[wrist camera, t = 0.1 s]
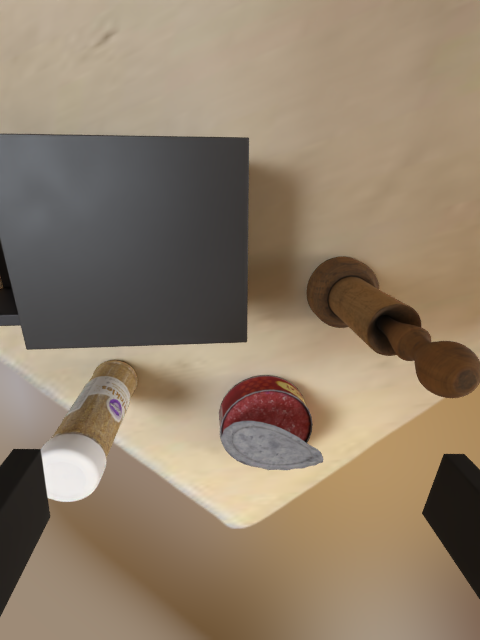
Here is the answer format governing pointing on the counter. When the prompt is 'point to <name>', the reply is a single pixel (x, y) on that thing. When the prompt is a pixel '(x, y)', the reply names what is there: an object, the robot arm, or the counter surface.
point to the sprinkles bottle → (88, 433)
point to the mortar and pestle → (389, 326)
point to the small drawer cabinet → (126, 238)
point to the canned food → (267, 425)
